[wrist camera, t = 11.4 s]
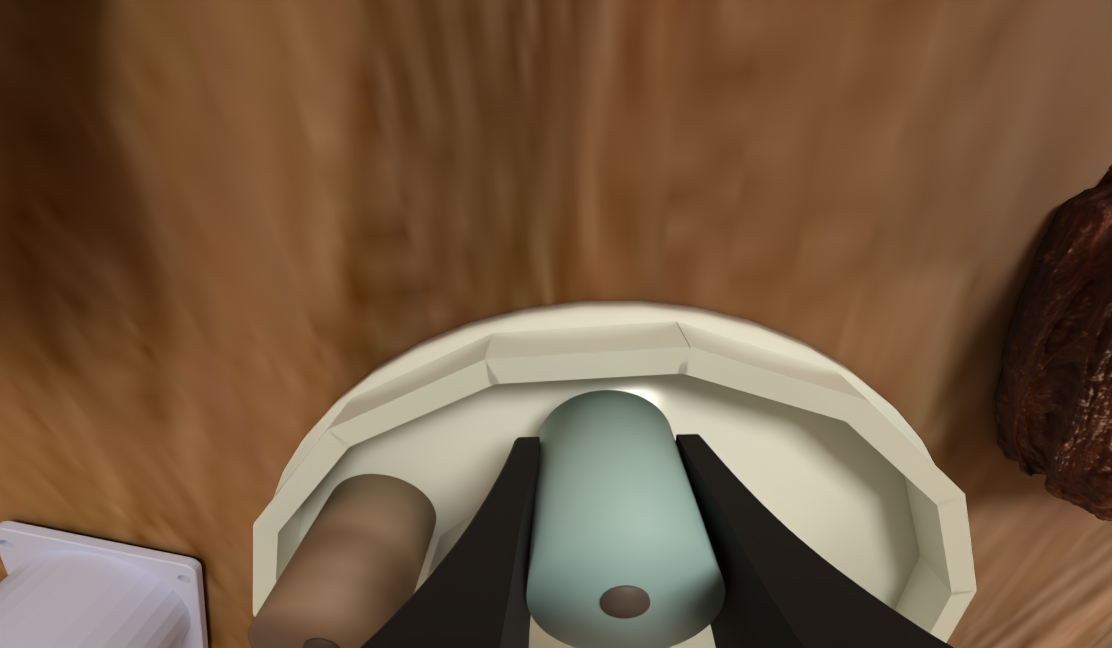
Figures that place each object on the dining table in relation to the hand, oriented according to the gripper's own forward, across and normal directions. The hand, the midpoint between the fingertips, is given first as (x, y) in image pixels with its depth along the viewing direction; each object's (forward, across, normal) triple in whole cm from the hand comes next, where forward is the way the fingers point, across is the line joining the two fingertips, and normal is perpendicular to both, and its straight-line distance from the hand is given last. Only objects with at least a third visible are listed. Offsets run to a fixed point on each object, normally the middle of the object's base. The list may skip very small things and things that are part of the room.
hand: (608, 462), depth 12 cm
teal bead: (+1, 0, 0) cm, 1 cm away
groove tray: (+3, 0, +10) cm, 10 cm away
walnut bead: (+2, +8, +4) cm, 9 cm away
